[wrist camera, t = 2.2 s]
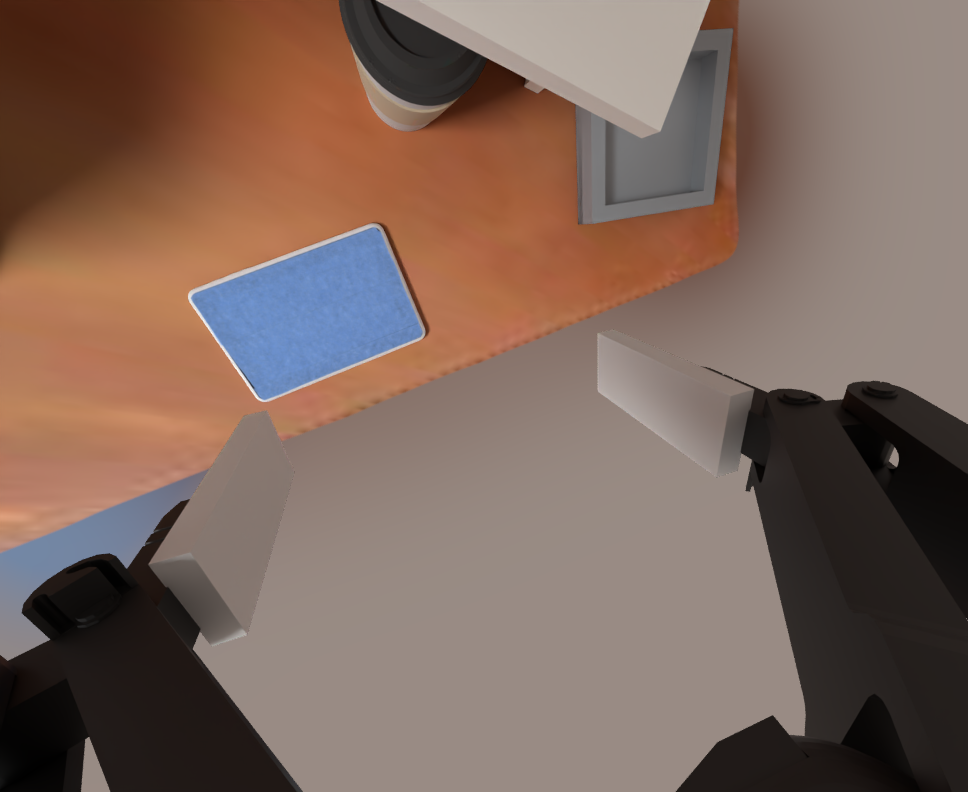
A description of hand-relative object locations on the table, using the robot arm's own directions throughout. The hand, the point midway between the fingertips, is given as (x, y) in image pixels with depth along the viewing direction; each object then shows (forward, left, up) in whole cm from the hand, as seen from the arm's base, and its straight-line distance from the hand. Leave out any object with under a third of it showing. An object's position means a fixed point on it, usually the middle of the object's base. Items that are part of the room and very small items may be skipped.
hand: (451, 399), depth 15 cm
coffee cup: (+4, +18, -29) cm, 34 cm away
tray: (+28, +12, -28) cm, 42 cm away
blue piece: (-9, -1, -29) cm, 30 cm away
